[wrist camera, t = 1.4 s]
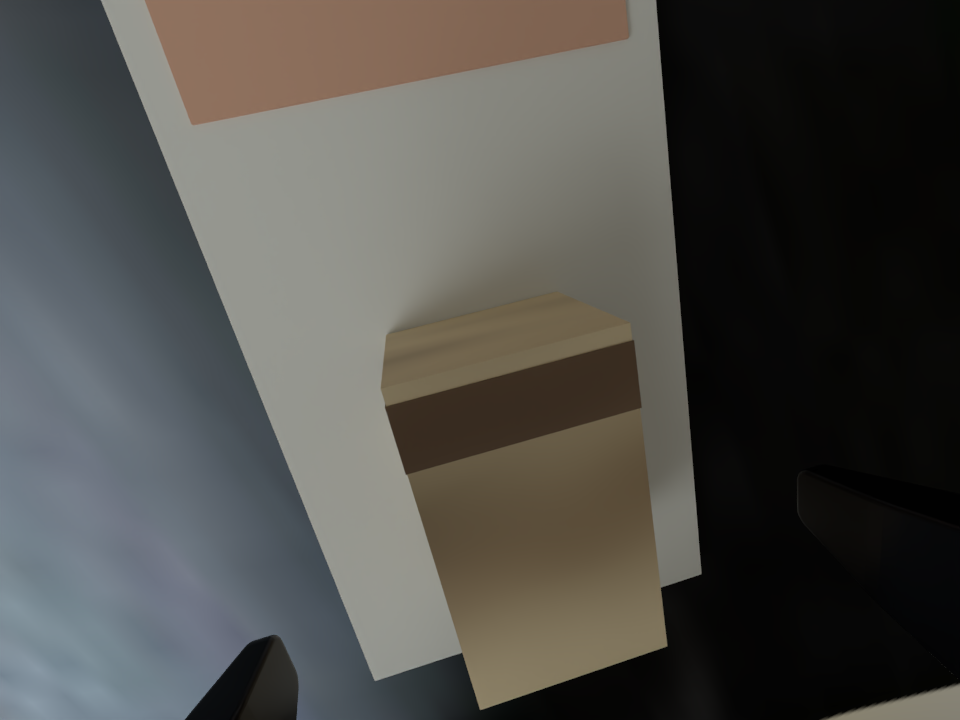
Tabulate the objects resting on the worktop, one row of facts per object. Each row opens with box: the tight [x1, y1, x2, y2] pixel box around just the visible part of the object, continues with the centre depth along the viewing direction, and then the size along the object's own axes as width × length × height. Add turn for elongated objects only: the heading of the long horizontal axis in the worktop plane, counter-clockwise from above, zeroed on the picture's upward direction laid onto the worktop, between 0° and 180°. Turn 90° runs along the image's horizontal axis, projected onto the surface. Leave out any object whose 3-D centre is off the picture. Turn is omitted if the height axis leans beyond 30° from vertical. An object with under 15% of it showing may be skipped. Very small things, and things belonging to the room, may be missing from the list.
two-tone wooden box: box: [381, 292, 667, 710], centre depth 10 cm, size 7×4×4 cm, turn 12°
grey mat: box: [101, 0, 701, 681], centre depth 10 cm, size 22×10×1 cm, turn 12°
